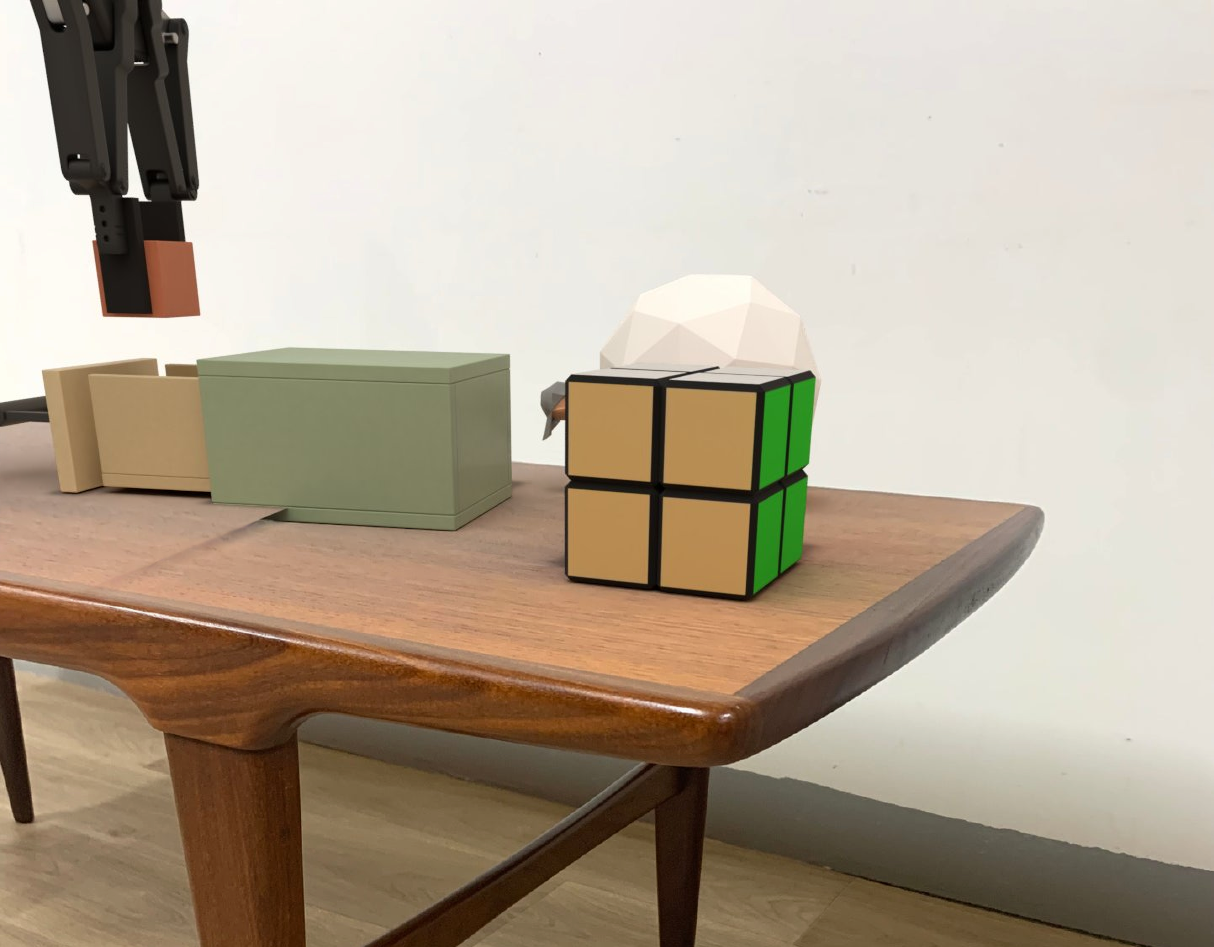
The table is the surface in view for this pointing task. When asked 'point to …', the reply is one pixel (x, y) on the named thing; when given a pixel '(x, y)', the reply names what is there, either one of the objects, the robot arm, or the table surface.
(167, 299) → the block
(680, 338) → the person on sphere
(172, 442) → the drawer
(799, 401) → the puzzle cube
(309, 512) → the cabinet
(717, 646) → the table surface
